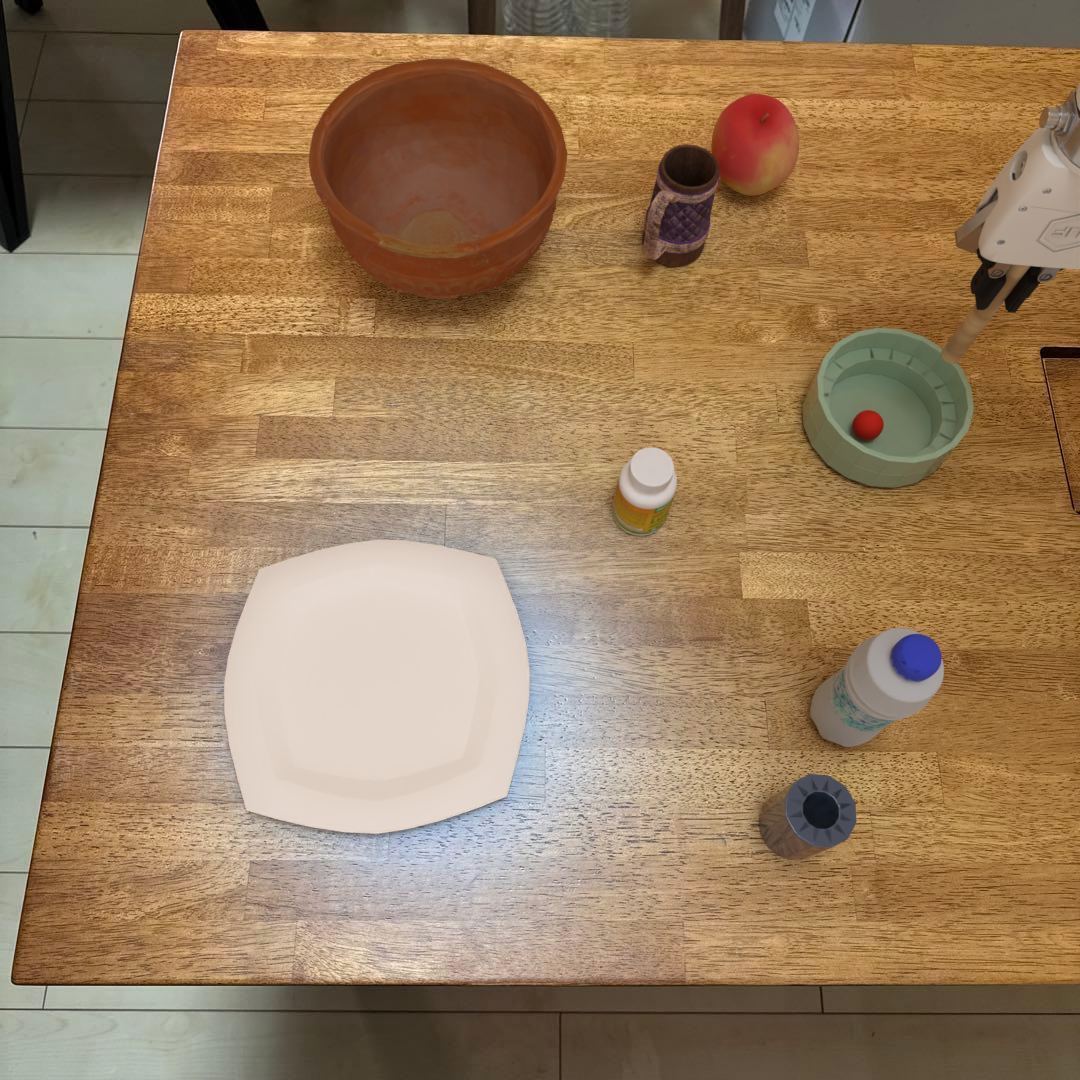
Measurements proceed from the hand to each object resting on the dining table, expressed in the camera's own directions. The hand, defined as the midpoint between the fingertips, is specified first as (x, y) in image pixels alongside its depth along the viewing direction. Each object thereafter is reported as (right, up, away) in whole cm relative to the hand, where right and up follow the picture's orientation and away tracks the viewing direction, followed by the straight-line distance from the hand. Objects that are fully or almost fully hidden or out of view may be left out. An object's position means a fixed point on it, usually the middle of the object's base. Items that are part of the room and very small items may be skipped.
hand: (994, 296), depth 85 cm
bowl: (-48, +11, +27) cm, 56 cm away
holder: (-16, -45, +3) cm, 48 cm away
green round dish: (-3, -8, +20) cm, 22 cm away
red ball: (-5, -9, +17) cm, 20 cm away
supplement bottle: (-28, -18, +15) cm, 37 cm away
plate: (-52, -33, +7) cm, 63 cm away
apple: (-14, +21, +32) cm, 41 cm away
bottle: (-11, -36, +7) cm, 39 cm away
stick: (0, -3, +8) cm, 9 cm away
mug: (-24, +11, +28) cm, 38 cm away
